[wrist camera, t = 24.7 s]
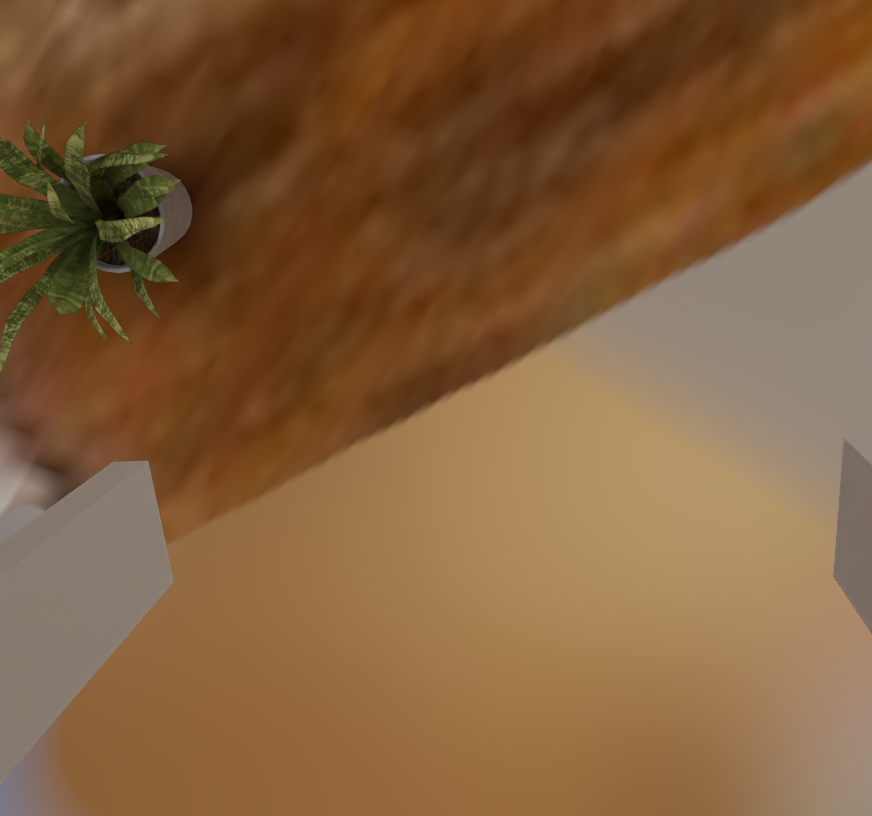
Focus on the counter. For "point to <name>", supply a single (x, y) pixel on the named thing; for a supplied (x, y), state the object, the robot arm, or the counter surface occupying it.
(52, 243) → the house plant
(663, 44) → the counter surface
